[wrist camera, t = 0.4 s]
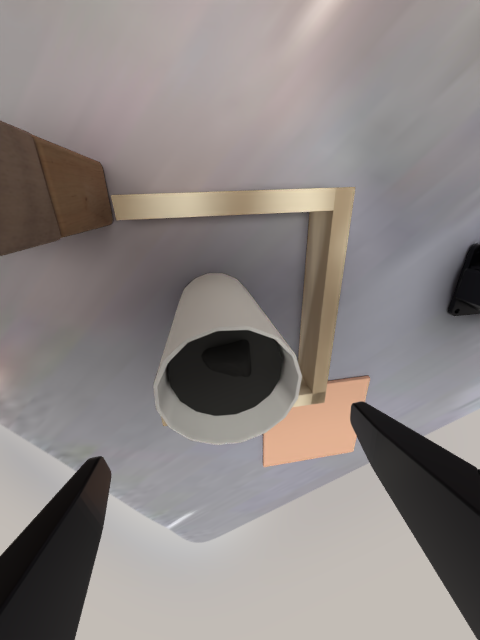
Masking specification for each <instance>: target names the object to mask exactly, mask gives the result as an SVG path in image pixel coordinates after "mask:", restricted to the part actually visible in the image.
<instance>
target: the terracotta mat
mask: <svg viewBox="0 0 480 640" xmlns="http://www.w3.org/2000/svg"><path fill="white" fill-rule="evenodd" d="M369 381H370V377H369V376H361V377H354V378H347V379H339V380H332V381H328V382H327V389H326V396H325V402H324V403H318V404H312V405H305V406H298V407H292V408H291V410H290V411H289V413H288V414H287V416H286V417H285V418H284V419H283V420H282V421H280V422H279V423H278V424H276V425H275V426H274V427H273V428H271V429H270V430H269V431H267V432H266V433H264V434H263V466H264V467H268V466H273V465H279V464H285V463H291V462H296V461H302V460H308V459H314V458H319V457H325V456H331V455H337V454H342V453H348V452H353V450H354V446H355V441H356V437H357V436H356V434H355V432H354V430H353V427H352V425H351V422H350V412H351V405H352V403H355V402H360V401H363V402H365V398H366V394H367V390H368V386H369Z"/></svg>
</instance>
